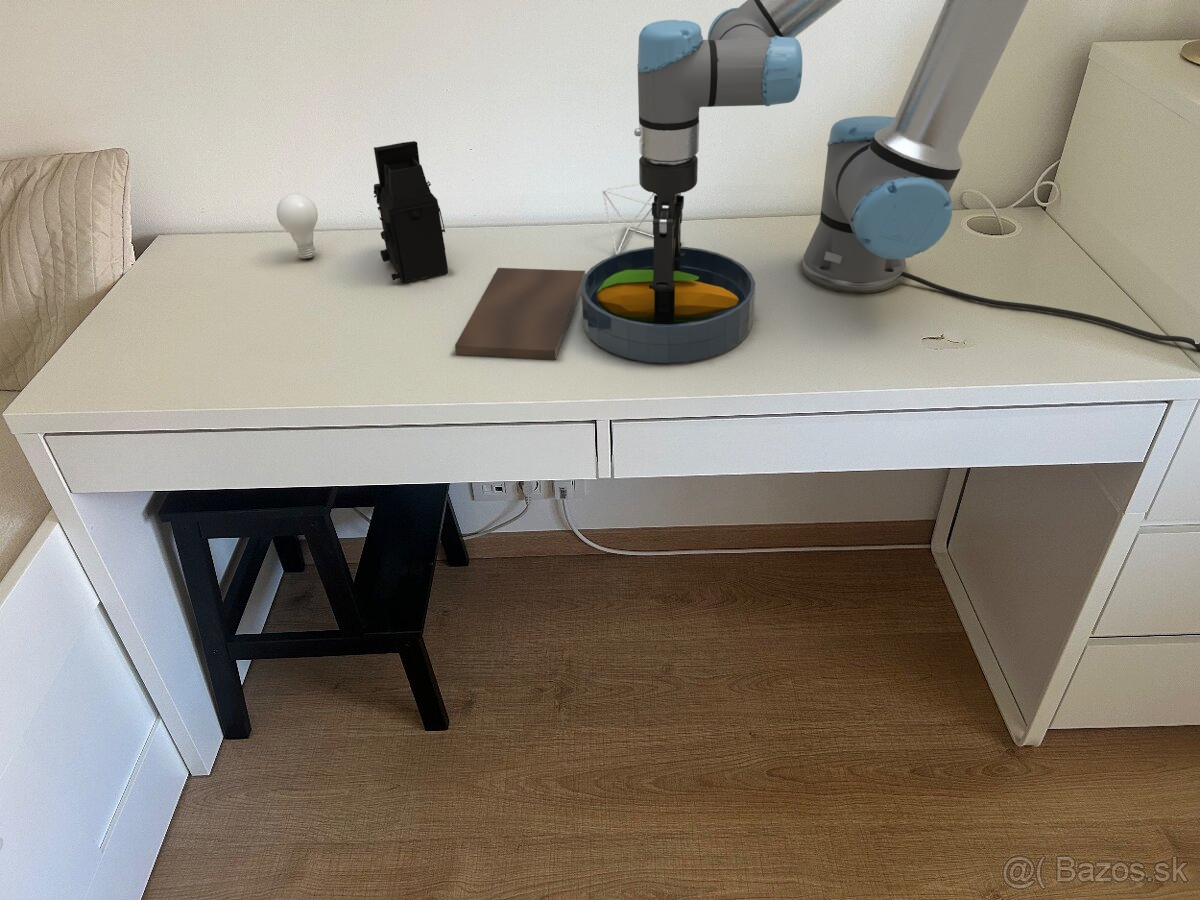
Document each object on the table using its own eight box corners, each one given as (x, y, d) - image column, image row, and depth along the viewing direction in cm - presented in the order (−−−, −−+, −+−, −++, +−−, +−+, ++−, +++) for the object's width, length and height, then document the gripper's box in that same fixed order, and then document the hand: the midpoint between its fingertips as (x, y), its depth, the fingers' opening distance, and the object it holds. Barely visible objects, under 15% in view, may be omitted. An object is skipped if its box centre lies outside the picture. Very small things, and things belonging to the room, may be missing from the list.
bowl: (754, 285, 137) (756, 248, 133) (750, 370, 118) (753, 330, 114) (597, 279, 140) (596, 243, 136) (569, 361, 121) (566, 322, 118)
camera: (431, 243, 154) (412, 123, 141) (456, 273, 144) (437, 148, 131) (374, 255, 150) (349, 135, 138) (395, 288, 140) (370, 161, 128)
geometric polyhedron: (598, 234, 154) (596, 182, 148) (658, 223, 156) (657, 172, 151) (622, 264, 144) (620, 210, 139) (685, 252, 147) (686, 199, 141)
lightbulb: (335, 254, 151) (321, 191, 145) (307, 269, 147) (291, 205, 140) (309, 247, 154) (293, 184, 147) (281, 261, 150) (263, 198, 143)
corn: (599, 255, 128) (741, 259, 125) (602, 301, 133) (738, 306, 130) (592, 282, 122) (739, 287, 120) (594, 329, 127) (736, 335, 125)
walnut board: (585, 279, 140) (585, 270, 139) (555, 359, 122) (554, 350, 121) (498, 276, 142) (497, 267, 142) (456, 354, 124) (454, 345, 123)
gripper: (648, 129, 123) (649, 282, 137) (628, 183, 107) (632, 349, 121) (703, 130, 122) (698, 283, 135) (691, 185, 106) (687, 352, 120)
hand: (667, 314), depth 128 cm, fingers closed on corn, 7 cm apart
